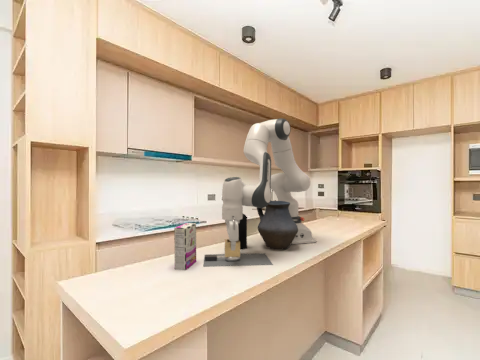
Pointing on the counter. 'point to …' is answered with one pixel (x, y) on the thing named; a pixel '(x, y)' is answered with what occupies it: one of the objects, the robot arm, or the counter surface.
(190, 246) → the candy bar box
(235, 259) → the ratchet
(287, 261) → the counter surface
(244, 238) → the aerosol can
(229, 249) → the brass square frame
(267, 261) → the mat
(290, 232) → the pitcher
